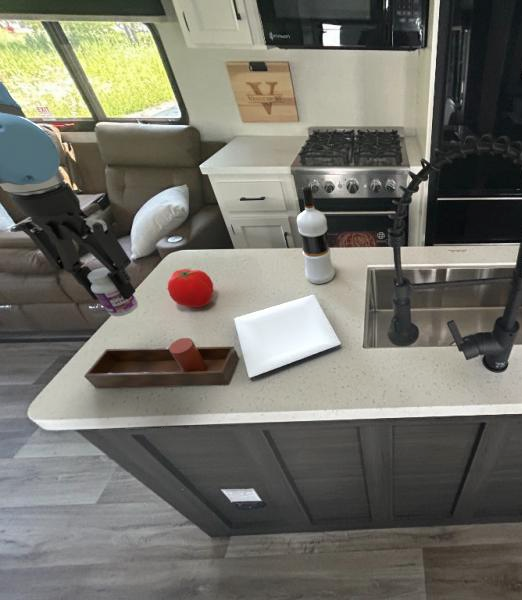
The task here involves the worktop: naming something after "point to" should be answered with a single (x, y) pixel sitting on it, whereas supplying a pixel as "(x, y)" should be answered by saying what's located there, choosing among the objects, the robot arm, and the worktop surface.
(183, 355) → the spice tin
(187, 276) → the tomato
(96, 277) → the pill bottle
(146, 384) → the wooden tray
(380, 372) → the worktop surface
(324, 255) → the vodka
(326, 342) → the plate
